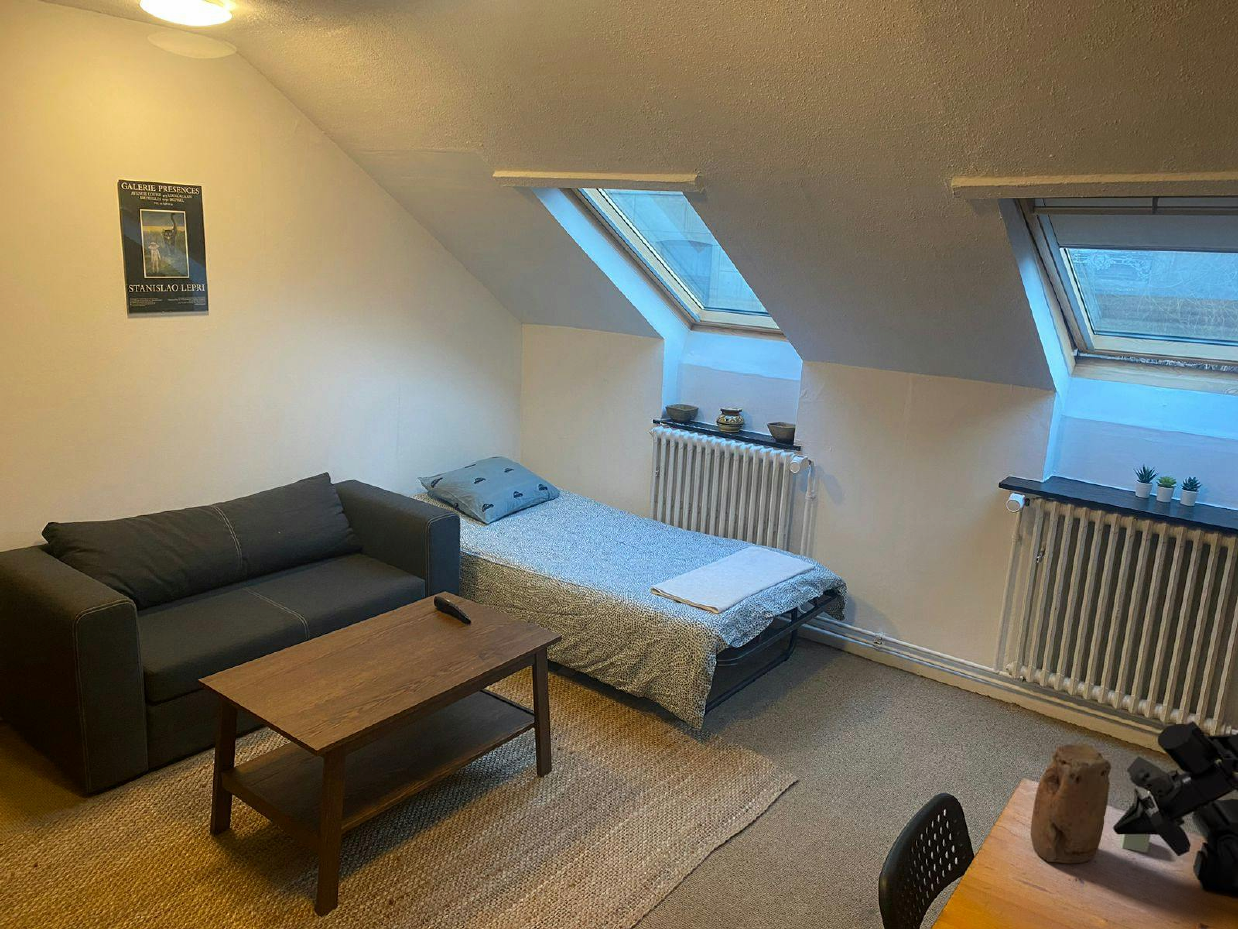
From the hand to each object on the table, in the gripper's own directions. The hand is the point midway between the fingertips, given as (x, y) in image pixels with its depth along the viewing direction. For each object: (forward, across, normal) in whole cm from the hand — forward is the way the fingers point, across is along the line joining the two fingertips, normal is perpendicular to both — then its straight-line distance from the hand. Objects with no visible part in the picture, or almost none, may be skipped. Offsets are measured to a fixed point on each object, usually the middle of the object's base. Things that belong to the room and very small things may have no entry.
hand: (1114, 831), depth 160 cm
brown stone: (+10, 0, -1) cm, 10 cm away
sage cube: (+1, -7, +8) cm, 11 cm away
